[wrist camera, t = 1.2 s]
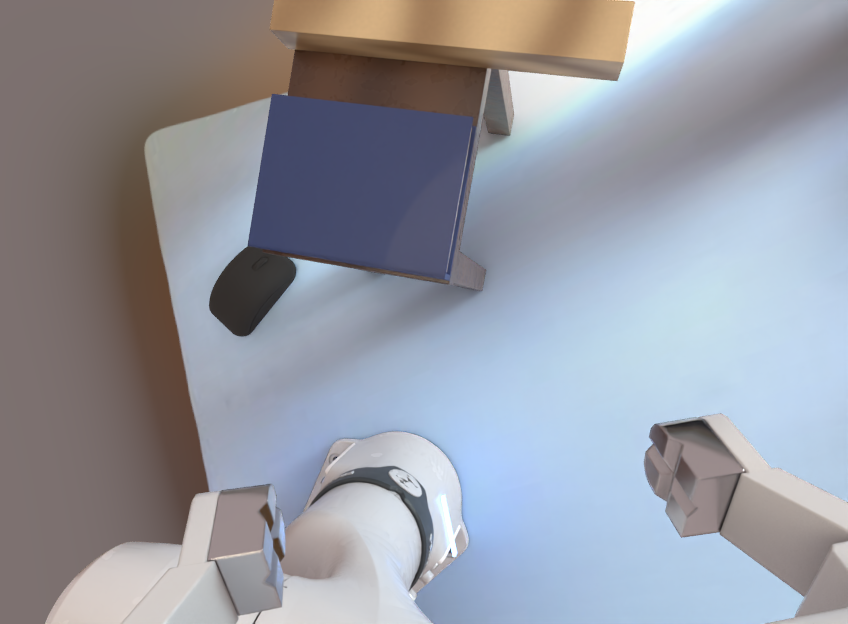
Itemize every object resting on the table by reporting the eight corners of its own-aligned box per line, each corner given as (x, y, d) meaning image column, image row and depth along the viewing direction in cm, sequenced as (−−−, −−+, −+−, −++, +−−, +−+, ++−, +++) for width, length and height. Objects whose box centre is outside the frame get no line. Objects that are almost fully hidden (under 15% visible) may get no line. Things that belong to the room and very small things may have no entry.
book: (476, 127, 39) (473, 116, 37) (449, 280, 40) (444, 279, 38) (285, 104, 42) (271, 93, 40) (262, 248, 42) (247, 245, 40)
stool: (516, 112, 63) (501, -11, 39) (483, 293, 64) (449, 284, 40) (393, 98, 66) (306, -25, 42) (363, 272, 67) (261, 252, 42)
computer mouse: (302, 269, 68) (287, 267, 65) (244, 341, 70) (227, 343, 66) (264, 235, 69) (248, 230, 65) (208, 306, 71) (188, 306, 67)
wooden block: (627, 25, 37) (635, 1, 34) (617, 81, 38) (623, 62, 35) (296, -2, 42) (277, -25, 39) (288, 49, 42) (269, 29, 39)
